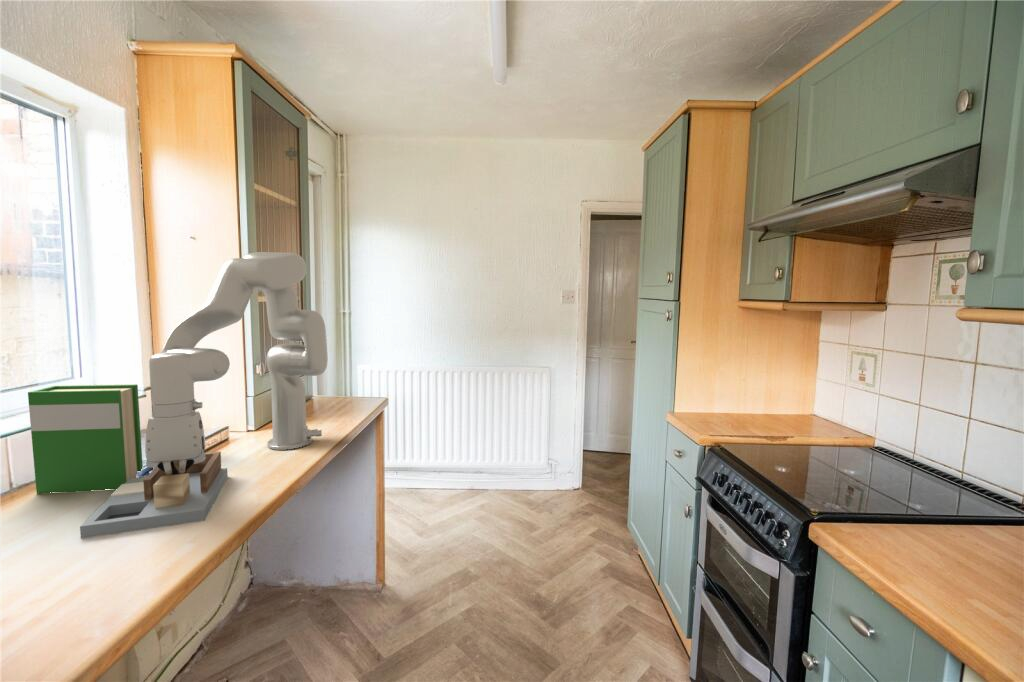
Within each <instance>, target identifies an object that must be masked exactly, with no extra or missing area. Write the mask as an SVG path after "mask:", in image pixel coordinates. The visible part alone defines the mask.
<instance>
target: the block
mask: <svg viewBox="0 0 1024 682" xmlns="http://www.w3.org/2000/svg"><path fill="white" fill-rule="evenodd" d="M153 490H154V507H155V508H162V507H170V506H178V505H184V503H185V502H186V500H187V499H188V497H189V496H190V482H189V473H186V474H177V475H168V476H161V477H160V478H159V479H158V481H157V482H156V483H155V484H154V485H153Z"/></svg>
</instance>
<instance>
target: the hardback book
mask: <svg viewBox="0 0 1024 682" xmlns="http://www.w3.org/2000/svg"><path fill="white" fill-rule="evenodd" d="M138 387H139V386H138V384H93V385H92V384H90V385H89V384H87V385H85V384H84V385H83V384H80V385H79V384H78V385H52V386H47V387H43V388H40V389H36V390H31V391H28V392H27V398H28V399H27V400H28V408H29V409H28V410H29V411H28V412H29V422H30V433H31V445H32V453H33V454H32V455H33V467H34V480H35V490H36V495H39V494H38V493H50V492H51V493H52V492H70V493H77V492H76V491H88V492H92V491H91V490H105V489H118V488H119V487H120V486H121V485H122V484H125V483H126V482H127V481H128V480H129V479H130V478H136V474H137V471H141V469H142V467H143V454H142V452H143V450H142V448H143V447H142V434H141V419H140V418H141V416H140V405H139V404H140V403H139V389H138ZM143 468H144V467H143ZM52 494H53V493H52Z"/></svg>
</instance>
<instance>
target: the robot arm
mask: <svg viewBox="0 0 1024 682" xmlns="http://www.w3.org/2000/svg"><path fill="white" fill-rule="evenodd" d="M306 275H307V264H306V261H305V259H304V258H303V257H302V256H301V255H300V254H298V253H295V252H280V251H279V252H277V251H276V252H273V251H271V252H270V251H265V252H264V251H258V252H256V251H255V252H250V253H247V254H245V255H244V256H243V257H239V258H238V257H236V258H231V259H228V260H227V261H225V262H224V263H223V265H222V266H221V268H220V271H219V273H218V274H217V277H216V279H215V281H214V282H213V285H212V288H211V289H210V292H209V294H208V296H207V298H206V300H205V302H204V303H203V305H202V306H201V307H199V308H198V309H197V310H195V311H194V312H192V313H190V315H188V316H187V317H186V318H185V319H184V320H182V321H181V322H179V323H178V324H177V325H176V326H175V327H174V328H173V330H171V332H170V334H169V335H168V336H167V338H166V341H165V342H164V345H163V347H162V349H161V351H160V353H156V354H152V356H150V358H149V361H148V363H149V366H148V368H149V380H150V381H149V382H150V383H149V384H150V385H149V386H150V398H151V402H150V403H151V415H150V416H149V417H148V420H147V425H146V432H145V445H144V446H145V458H146V463H145V466H146V467H147V468H153V469H155V468H159V469H161V470H162V471H164V472H165V473H166V475H177V474H186V470H187V469H188V468H190V467H191V466H192V465H193V464H197V463H200V462H203V461H204V460H205V459H206V456H205V453H206V452H205V450H206V437H205V429H204V423H203V420H202V419H203V418H202V416H201V413H200V411H196V410H199V409H203V401H201V402H198V401H197V400H196V398H195V387H194V386H195V383H196V382H199V383H200V382H210V381H211V382H212V381H216V380H218V379H220V378H223V377H224V376H225V375H226V374H227V373H228V372H229V369H230V363H231V362H230V359H229V357H228V355H227V354H226V353H225V352H223V351H221V350H219V349H215V348H205V347H204V348H203V347H202V348H201V347H196V346H197V344H198V343H199V342H200V341H202V339H204V338H205V337H206V336H208V335H210V334H212V333H214V332H216V331H218V330H222V329H225V328H227V327H229V326H232V325H234V324H236V323H238V322H239V321H241V320H242V318H243V316H244V315H245V311H246V309H247V306H248V304H249V302H250V300H251V297H252V295H253V293H254V292H263V295H264V298H265V305H266V314H267V315H266V316H267V322H268V330H269V334H270V335H271V337H272V338H273V339H276V340H279V341H294V342H295V341H297V342H303V344H298V343H294V344H293V343H282V344H280V343H279V344H275V345H274V346H272V347H271V348H269V350H268V351H267V353H266V366H267V369H268V374H269V380H270V387H271V388H270V390H271V391H270V393H271V394H270V395H271V415H272V416H271V417H272V418H271V419H272V420H271V421H272V438H271V439H269V440H268V441H267V444H266V445H267V448H269V449H270V450H277V451H286V450H287V449H288V450H294V448H295V449H299V447H300V448H302V446H303V447H305V445H306V446H308V445H310V444H311V443H312V442H313V437H322V436H323V435H322V431H323V430H322V429H320V430H319V429H318V428H314V429H309V428H308V427H309V426H308V425H307V405H306V404H307V401H306V400H307V399H306V398H307V397H306V386H305V383H304V381H303V379H302V377H301V376H303V377H304V376H309V377H314V376H316V377H317V376H321V375H322V374H323V373H324V372H325V371H326V369H327V366H328V345H327V333H326V331H327V330H326V325H325V320H324V318H323V316H322V315H321V314H320V313H319V312H318V311H316V310H311V309H300V308H299V303H298V302H299V301H298V296H297V292H296V289H295V286H294V285H296V284H298V283H300V282H302V281H303V280H304V278H305V277H306ZM179 460H180V464H179V470H177V469H176V466H175V462H174V461H179Z"/></svg>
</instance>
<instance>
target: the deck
mask: <svg viewBox="0 0 1024 682" xmlns="http://www.w3.org/2000/svg"><path fill="white" fill-rule="evenodd" d="M200 473H201V472H200ZM200 473H191V474H189V482H190V496H189V497H188V499H187V500H186V502H185V503H184V505H178V506H170V507H162V508H155V507H154V497H153V498H152V500H145V498H144V482H143V480H144V479H145V478H146V477H147V476H143V477H139V478H130V479H129V480H128V481H127V482H126V483H125V484H122V485H121V486H120V487H119V488H118V489H117V490H114V491H113V492H112V493H111V494H110V497H109V498H108V499H107V500H105V502H104V503H103V504H102V505H101V506H99V508H98V509H96V511H95V512H94V513H92V514H91V515H90V516H89V517H88V518H87V519H86V520H85V521H84V522H82V524H81V525H80V526H79V531H80V539H86V538H93V537H100V536H106V535H113V534H121V533H128V532H135V530H136V531H141V530H147V529H156V528H162V527H167V526H168V527H169V526H170V527H171V526H176V525H177V526H178V525H183V524H191V523H197V522H203V521H205V520H206V519H207V517H208V515H209V514H210V512H211V509H212V507H213V506H212V505H214V504H215V502H216V500H217V499H218V498H217V497H218V496H219V494H220V492H221V490H222V489H221V488H223V487H222V486H224V485H223V484H225V483H226V481H227V479H228V468H227V467H223V468H222V467H221V470H220V472H219V473H218V475H217V477H216V478H215V480H214V482H213V484H212V485H211V487H210V489H209V490H208V492H207V493H201V485H200Z"/></svg>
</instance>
